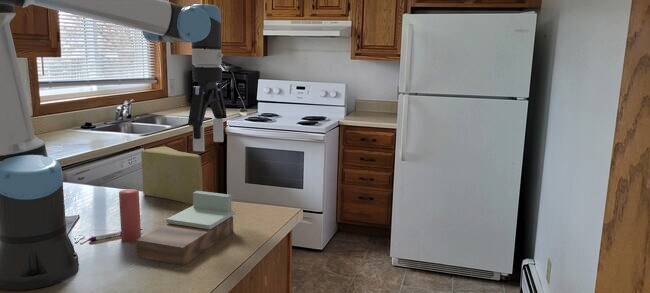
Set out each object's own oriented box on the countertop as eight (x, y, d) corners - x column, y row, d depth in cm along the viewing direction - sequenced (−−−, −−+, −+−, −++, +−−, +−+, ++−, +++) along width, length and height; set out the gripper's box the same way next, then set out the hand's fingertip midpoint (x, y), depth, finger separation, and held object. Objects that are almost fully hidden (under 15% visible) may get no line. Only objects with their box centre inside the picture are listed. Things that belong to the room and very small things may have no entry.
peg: (132, 244, 116) (130, 195, 114) (117, 241, 118) (114, 193, 116) (144, 237, 121) (142, 190, 118) (130, 235, 122) (127, 188, 120)
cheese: (213, 201, 151) (213, 153, 148) (188, 209, 143) (187, 159, 140) (167, 189, 163) (165, 144, 160) (141, 195, 155) (139, 148, 152)
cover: (210, 229, 115) (209, 208, 114) (166, 222, 119) (165, 203, 118) (235, 214, 126) (234, 195, 125) (194, 208, 130) (193, 190, 129)
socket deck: (183, 265, 106) (182, 247, 105) (136, 256, 109) (135, 239, 109) (233, 231, 126) (233, 216, 126) (192, 225, 130) (192, 210, 129)
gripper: (201, 68, 116) (204, 156, 120) (236, 65, 140) (237, 138, 144) (171, 67, 117) (175, 154, 121) (211, 64, 141) (213, 137, 145)
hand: (209, 146), depth 133 cm, fingers open, 13 cm apart
